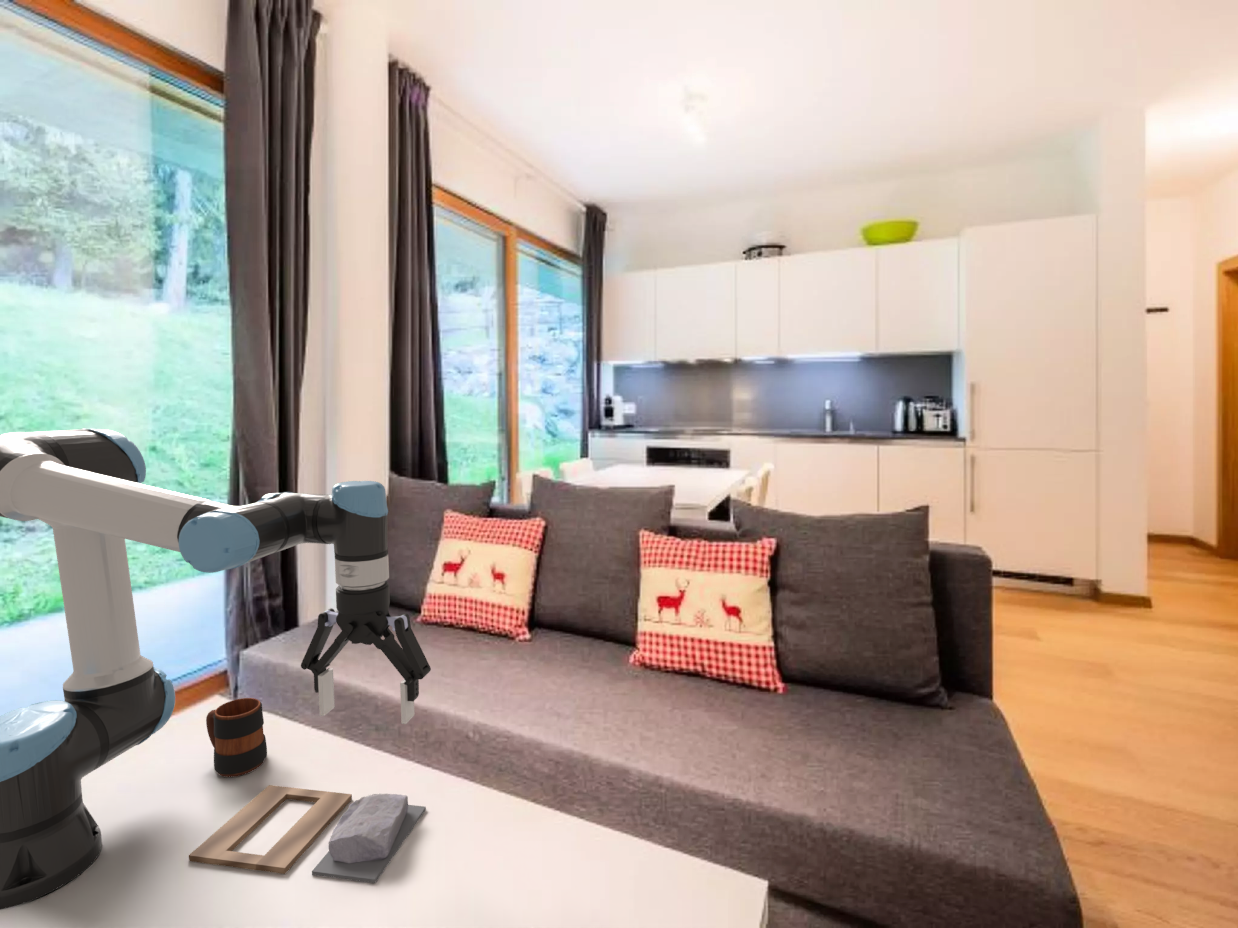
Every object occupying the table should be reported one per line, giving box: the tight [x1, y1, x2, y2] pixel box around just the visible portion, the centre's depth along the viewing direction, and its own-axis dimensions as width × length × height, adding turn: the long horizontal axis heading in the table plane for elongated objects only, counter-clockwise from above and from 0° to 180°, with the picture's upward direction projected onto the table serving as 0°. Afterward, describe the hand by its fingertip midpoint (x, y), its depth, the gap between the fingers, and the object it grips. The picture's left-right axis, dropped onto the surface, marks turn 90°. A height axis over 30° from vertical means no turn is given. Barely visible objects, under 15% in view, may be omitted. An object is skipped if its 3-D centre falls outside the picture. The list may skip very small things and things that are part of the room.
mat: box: [311, 804, 427, 884], centre depth 96 cm, size 10×16×1 cm, turn 172°
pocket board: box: [188, 784, 353, 875], centre depth 99 cm, size 16×17×1 cm
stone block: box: [328, 793, 409, 864], centre depth 97 cm, size 12×5×10 cm
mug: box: [205, 697, 268, 778], centre depth 116 cm, size 9×12×12 cm
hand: (367, 715), depth 94 cm, fingers open, 13 cm apart
